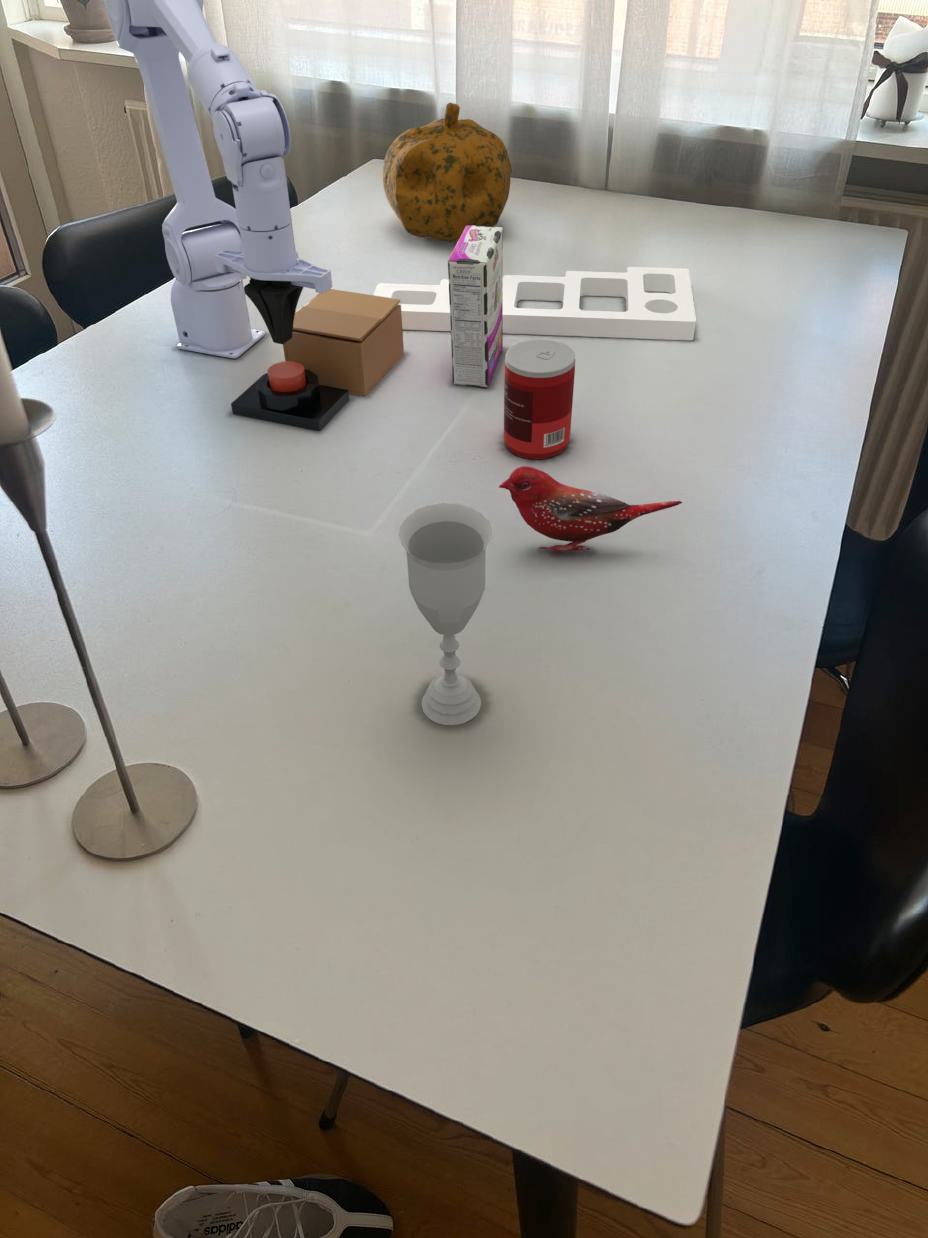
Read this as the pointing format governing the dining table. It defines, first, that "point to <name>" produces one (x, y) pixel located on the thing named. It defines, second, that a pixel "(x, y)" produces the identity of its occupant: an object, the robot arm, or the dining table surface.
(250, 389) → the block
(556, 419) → the canned food
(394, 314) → the carton
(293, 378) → the button
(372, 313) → the flap
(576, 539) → the decorative bird figurine
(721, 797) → the dining table surface
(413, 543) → the chalice
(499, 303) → the candy bar box
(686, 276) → the holder
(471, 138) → the decorative pumpkin
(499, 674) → the dining table surface
